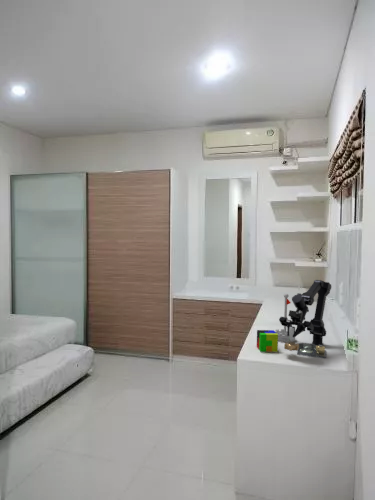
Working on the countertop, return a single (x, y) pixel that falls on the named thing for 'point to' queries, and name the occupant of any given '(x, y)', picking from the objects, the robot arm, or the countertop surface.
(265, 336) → the puzzle toy
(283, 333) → the flag stand
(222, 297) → the countertop surface
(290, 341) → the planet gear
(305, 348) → the carrier plate
